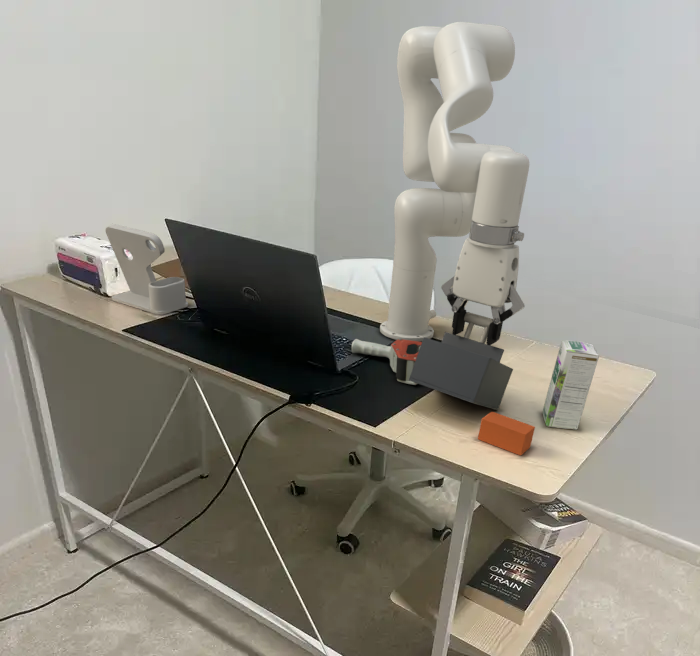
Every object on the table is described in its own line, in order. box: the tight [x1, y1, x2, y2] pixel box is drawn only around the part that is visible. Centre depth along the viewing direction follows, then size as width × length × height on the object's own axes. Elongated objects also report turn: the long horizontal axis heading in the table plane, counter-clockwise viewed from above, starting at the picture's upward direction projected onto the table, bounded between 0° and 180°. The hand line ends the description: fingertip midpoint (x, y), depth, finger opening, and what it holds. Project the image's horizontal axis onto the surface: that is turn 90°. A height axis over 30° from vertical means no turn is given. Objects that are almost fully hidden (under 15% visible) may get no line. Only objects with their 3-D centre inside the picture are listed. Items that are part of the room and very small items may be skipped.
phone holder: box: [105, 223, 189, 316], centre depth 156 cm, size 17×10×18 cm, turn 59°
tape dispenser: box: [351, 338, 422, 386], centre depth 136 cm, size 18×5×20 cm
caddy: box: [409, 311, 514, 411], centre depth 119 cm, size 13×13×15 cm
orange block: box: [477, 411, 536, 457], centre depth 111 cm, size 4×8×4 cm, turn 53°
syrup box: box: [541, 340, 600, 430], centre depth 117 cm, size 6×6×14 cm
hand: (474, 337), depth 118 cm, fingers closed on caddy, 6 cm apart
